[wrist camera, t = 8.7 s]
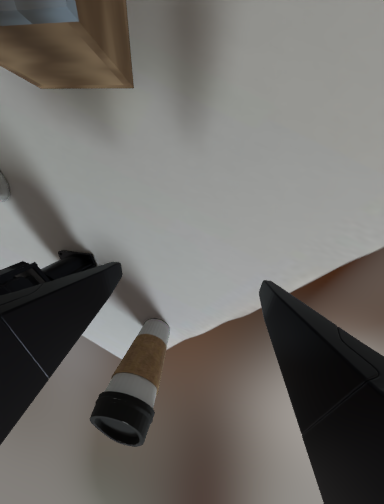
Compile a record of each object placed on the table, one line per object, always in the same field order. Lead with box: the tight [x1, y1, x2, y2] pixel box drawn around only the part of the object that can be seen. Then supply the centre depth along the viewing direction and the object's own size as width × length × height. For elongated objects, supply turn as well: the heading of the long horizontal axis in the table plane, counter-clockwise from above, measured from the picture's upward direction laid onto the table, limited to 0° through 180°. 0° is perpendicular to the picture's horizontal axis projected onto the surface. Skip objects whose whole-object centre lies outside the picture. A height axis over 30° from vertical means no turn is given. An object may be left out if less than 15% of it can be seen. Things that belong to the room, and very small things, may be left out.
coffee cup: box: [90, 319, 170, 447], centre depth 25 cm, size 8×8×15 cm
